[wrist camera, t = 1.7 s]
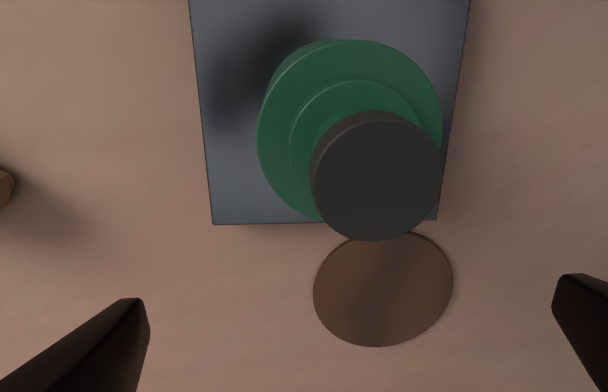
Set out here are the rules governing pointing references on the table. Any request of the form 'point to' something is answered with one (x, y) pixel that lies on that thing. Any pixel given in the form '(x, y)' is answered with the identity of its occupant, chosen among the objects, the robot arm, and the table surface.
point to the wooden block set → (5, 188)
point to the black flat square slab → (273, 51)
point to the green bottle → (352, 138)
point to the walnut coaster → (382, 289)
